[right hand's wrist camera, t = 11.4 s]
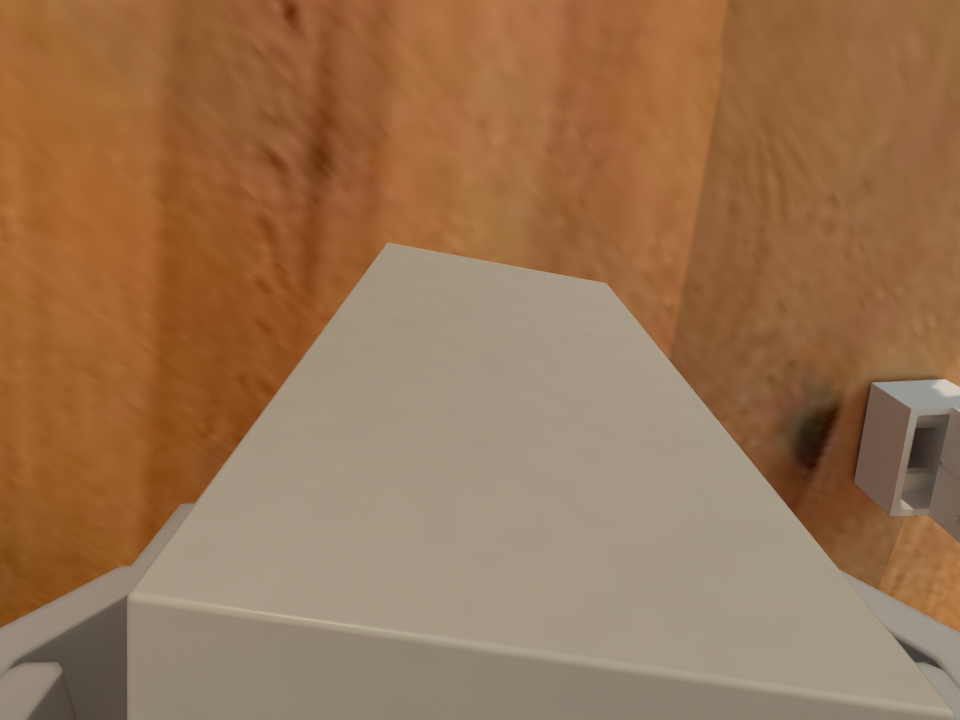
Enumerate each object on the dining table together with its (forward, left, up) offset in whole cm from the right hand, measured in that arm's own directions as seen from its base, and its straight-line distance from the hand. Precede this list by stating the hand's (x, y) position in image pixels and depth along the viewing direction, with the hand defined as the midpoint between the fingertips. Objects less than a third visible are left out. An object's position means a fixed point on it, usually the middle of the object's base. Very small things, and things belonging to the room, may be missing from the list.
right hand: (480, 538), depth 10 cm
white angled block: (-16, +17, -21) cm, 32 cm away
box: (+5, +6, -8) cm, 11 cm away
